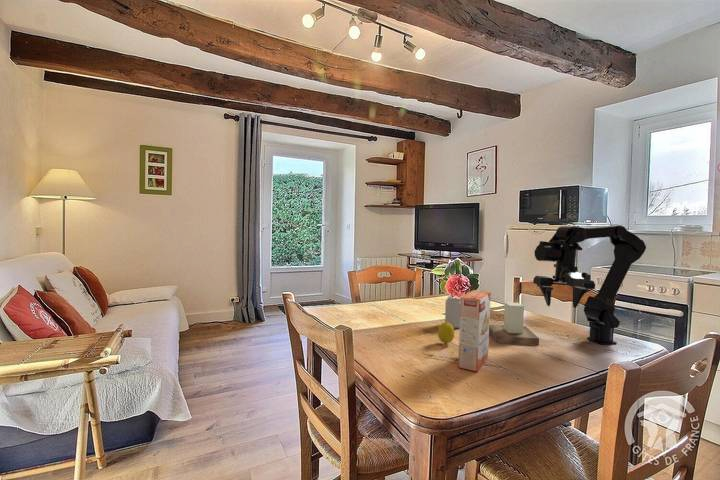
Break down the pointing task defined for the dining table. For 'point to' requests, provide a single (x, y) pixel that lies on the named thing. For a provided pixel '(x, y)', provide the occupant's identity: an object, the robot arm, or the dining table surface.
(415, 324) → the dining table surface
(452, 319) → the can
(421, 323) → the dining table surface
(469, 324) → the cracker box
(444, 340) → the lemon
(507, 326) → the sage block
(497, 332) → the brown flat square slab
